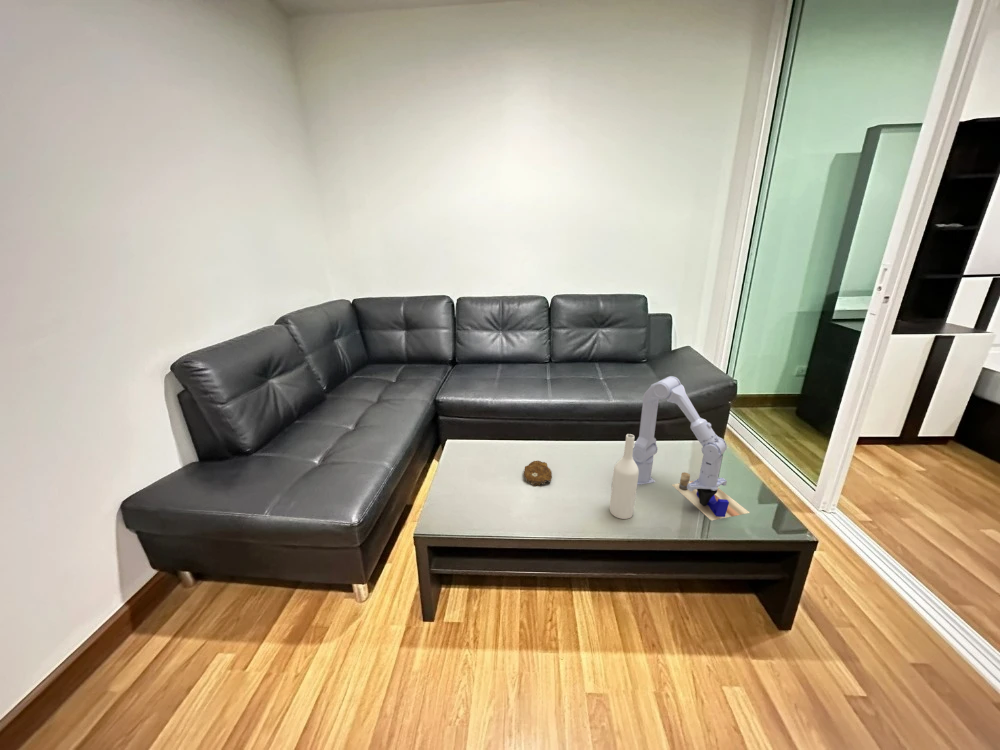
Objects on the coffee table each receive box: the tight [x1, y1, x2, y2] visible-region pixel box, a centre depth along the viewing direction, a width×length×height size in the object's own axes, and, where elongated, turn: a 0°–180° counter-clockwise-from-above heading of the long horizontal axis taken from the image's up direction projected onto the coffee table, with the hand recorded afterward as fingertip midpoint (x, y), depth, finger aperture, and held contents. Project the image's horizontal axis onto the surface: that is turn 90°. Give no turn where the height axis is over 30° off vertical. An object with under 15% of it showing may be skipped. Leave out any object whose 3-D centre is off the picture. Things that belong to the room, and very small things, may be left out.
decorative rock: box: [523, 460, 553, 487], centre depth 158 cm, size 11×4×15 cm
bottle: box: [609, 433, 639, 520], centre depth 133 cm, size 8×8×30 cm
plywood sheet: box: [671, 480, 751, 521], centre depth 144 cm, size 16×21×1 cm
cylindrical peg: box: [679, 471, 691, 490], centre depth 149 cm, size 3×3×6 cm
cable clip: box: [697, 491, 729, 517], centre depth 139 cm, size 12×4×6 cm, turn 178°
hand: (702, 504), depth 140 cm, fingers closed
